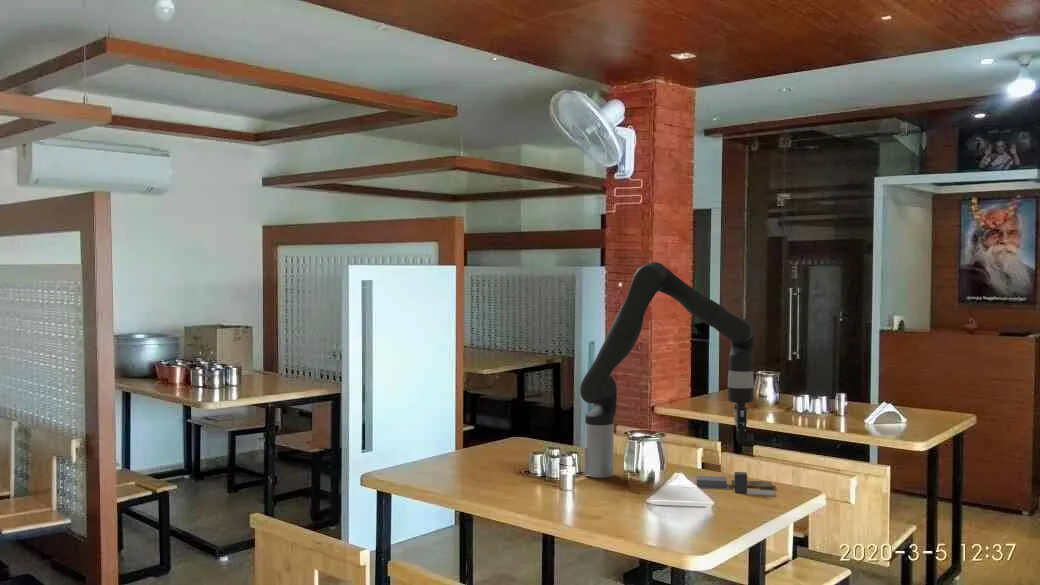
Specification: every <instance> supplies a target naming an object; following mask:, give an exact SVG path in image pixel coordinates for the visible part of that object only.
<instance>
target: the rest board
mask: <svg viewBox="0 0 1040 585" xmlns="http://www.w3.org/2000/svg"><path fill="white" fill-rule="evenodd" d="M731 484H732V488H734V479H733V480H732V479H731ZM747 489H759V490H773V491H774V485H773V483H772V481H766V480H765V481H764V480H763V481H761V480H747Z"/></svg>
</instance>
